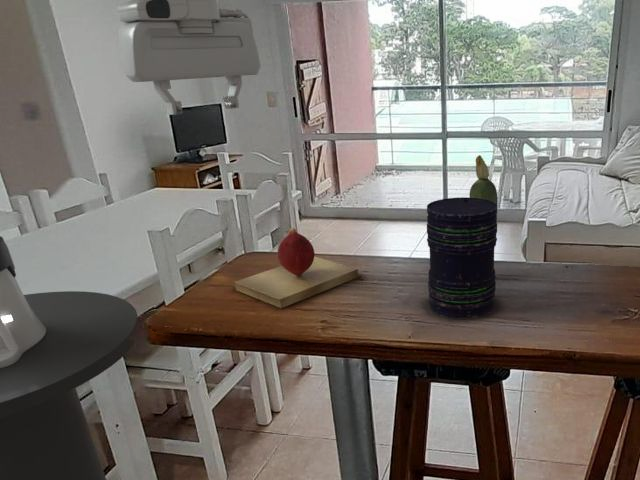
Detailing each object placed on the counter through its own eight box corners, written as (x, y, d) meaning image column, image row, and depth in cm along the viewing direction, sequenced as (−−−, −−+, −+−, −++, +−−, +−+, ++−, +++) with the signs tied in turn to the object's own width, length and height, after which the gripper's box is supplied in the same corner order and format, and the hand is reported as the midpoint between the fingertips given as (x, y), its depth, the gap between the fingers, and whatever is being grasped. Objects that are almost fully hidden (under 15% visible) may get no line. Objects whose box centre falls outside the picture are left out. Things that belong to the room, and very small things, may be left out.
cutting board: (281, 308, 86) (279, 299, 85) (236, 290, 93) (234, 281, 92) (358, 277, 97) (357, 268, 96) (312, 263, 104) (311, 255, 103)
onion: (323, 275, 94) (318, 227, 90) (293, 284, 90) (287, 236, 87) (303, 266, 98) (298, 221, 94) (274, 276, 94) (267, 229, 91)
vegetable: (485, 271, 97) (487, 150, 89) (501, 278, 94) (505, 154, 85) (463, 276, 95) (464, 153, 87) (479, 284, 92) (481, 157, 83)
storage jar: (490, 322, 79) (492, 216, 73) (421, 316, 81) (418, 213, 75) (499, 294, 88) (502, 198, 82) (436, 290, 90) (434, 196, 84)
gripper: (237, 10, 90) (251, 104, 96) (103, 7, 76) (129, 117, 82) (261, 8, 86) (274, 105, 92) (125, 3, 72) (150, 119, 78)
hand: (204, 111), depth 87 cm, fingers open, 8 cm apart
